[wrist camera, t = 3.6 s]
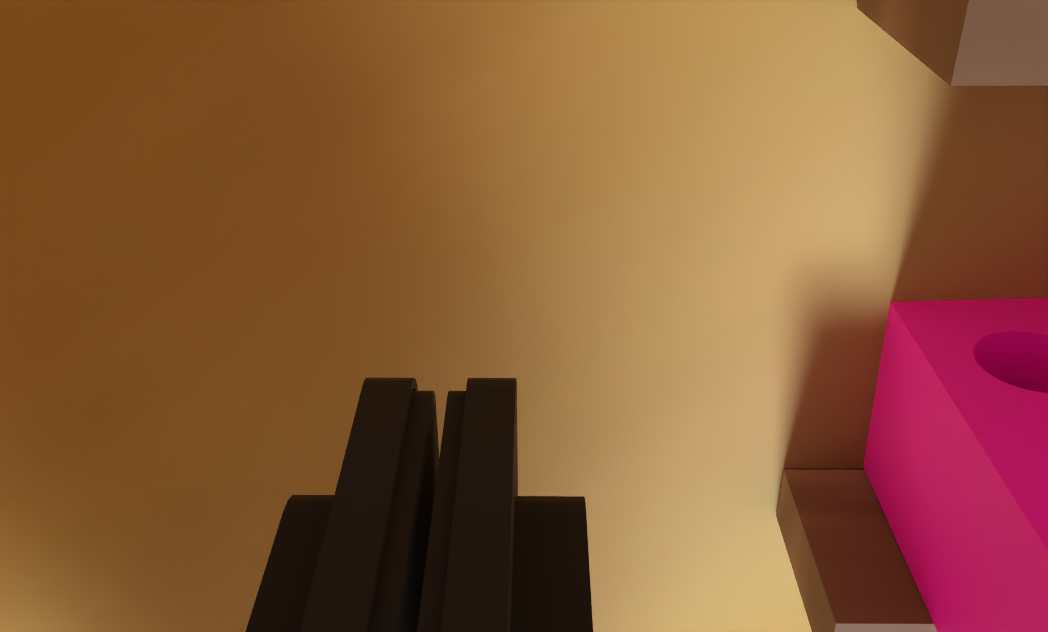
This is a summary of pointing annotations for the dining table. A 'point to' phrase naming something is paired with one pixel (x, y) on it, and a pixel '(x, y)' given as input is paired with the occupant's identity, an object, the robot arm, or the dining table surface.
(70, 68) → the dining table surface
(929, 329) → the toy block
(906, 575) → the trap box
